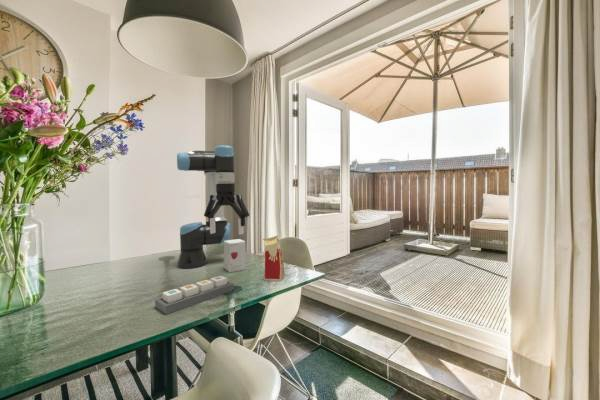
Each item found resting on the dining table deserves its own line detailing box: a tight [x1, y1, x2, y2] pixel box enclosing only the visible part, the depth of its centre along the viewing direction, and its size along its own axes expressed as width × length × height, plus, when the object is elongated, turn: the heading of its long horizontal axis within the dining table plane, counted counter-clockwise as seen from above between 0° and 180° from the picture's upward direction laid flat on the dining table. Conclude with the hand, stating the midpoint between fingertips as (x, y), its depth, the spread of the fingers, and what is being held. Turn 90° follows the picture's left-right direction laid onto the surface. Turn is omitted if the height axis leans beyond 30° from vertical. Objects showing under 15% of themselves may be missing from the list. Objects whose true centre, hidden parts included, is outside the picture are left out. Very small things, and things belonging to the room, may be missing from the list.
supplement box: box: [223, 238, 247, 273], centre depth 137 cm, size 9×9×15 cm
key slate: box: [209, 275, 228, 288], centre depth 108 cm, size 5×5×3 cm
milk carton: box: [262, 235, 286, 282], centre depth 123 cm, size 9×9×20 cm
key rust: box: [179, 283, 199, 298], centre depth 98 cm, size 5×5×3 cm
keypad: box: [154, 280, 235, 315], centre depth 101 cm, size 9×27×3 cm, turn 139°
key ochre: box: [195, 279, 213, 292], centre depth 103 cm, size 5×5×3 cm
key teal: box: [161, 288, 182, 303], centre depth 94 cm, size 5×5×3 cm
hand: (226, 233), depth 111 cm, fingers open, 13 cm apart
